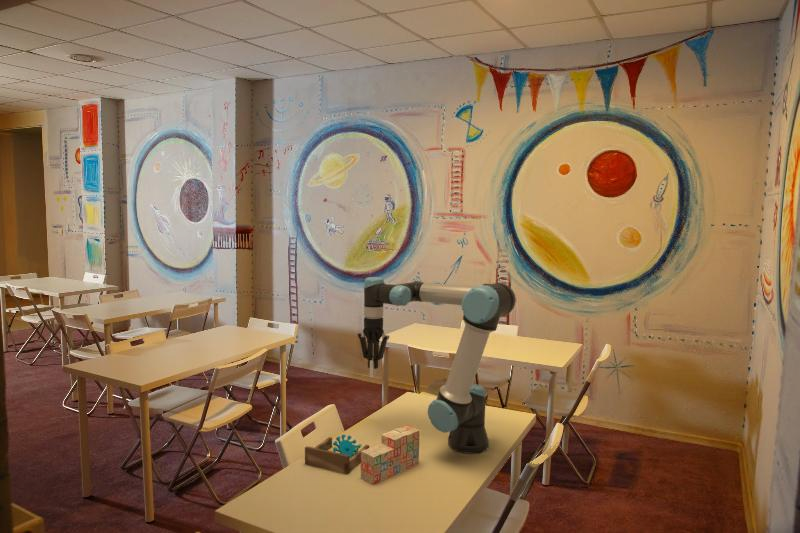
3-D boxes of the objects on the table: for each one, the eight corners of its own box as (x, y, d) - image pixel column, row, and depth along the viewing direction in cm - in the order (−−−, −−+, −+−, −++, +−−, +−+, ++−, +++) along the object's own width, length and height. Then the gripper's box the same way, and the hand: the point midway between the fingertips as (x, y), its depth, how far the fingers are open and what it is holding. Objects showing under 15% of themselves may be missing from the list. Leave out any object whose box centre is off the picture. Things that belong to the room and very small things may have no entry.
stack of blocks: (373, 485, 169) (373, 448, 168) (360, 478, 174) (360, 441, 173) (419, 464, 184) (419, 429, 183) (405, 458, 189) (406, 424, 188)
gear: (337, 462, 181) (331, 434, 187) (330, 469, 184) (325, 441, 190) (366, 459, 187) (359, 432, 193) (358, 466, 190) (352, 439, 196)
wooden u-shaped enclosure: (329, 446, 197) (329, 430, 197) (369, 454, 191) (369, 438, 190) (304, 464, 182) (304, 447, 182) (347, 474, 176) (347, 456, 175)
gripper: (392, 316, 209) (391, 375, 211) (363, 314, 214) (362, 371, 216) (384, 320, 202) (383, 381, 204) (354, 317, 207) (353, 376, 209)
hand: (372, 376), depth 210 cm, fingers closed
